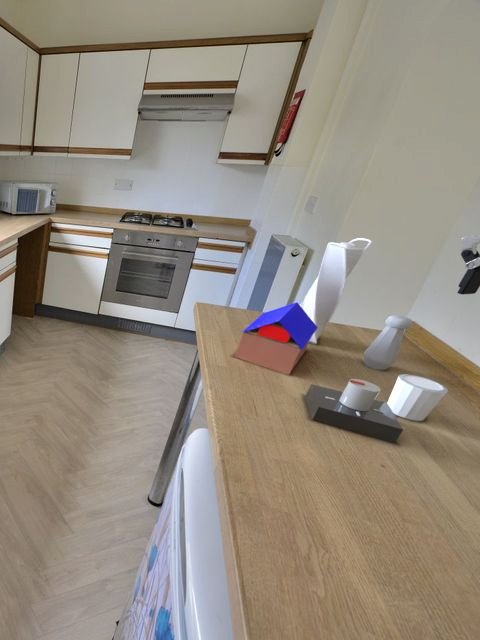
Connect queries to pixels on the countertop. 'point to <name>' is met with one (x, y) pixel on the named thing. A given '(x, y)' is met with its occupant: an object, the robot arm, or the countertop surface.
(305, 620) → the countertop surface
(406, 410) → the shot glass
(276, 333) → the house
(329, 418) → the hob panel
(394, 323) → the salt shaker
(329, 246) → the skyscraper
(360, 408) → the hob knob
